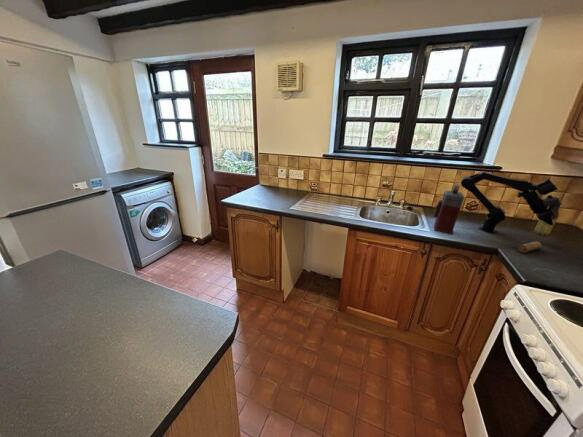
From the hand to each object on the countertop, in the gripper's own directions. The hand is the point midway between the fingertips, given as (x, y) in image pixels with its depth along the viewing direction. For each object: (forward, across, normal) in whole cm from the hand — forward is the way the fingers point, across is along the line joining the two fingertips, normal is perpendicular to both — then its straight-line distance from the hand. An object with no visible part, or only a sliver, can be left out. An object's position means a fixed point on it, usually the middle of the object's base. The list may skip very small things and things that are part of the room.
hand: (550, 222), depth 132 cm
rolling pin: (+2, -17, +14) cm, 23 cm away
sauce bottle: (+4, 0, +6) cm, 8 cm away
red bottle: (-26, -16, +44) cm, 53 cm away
